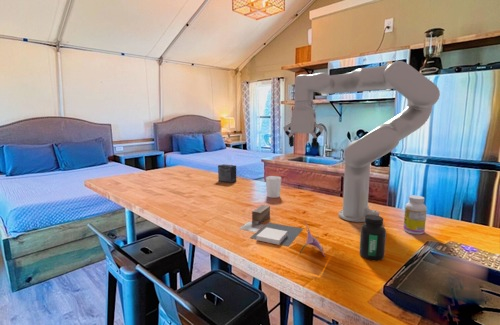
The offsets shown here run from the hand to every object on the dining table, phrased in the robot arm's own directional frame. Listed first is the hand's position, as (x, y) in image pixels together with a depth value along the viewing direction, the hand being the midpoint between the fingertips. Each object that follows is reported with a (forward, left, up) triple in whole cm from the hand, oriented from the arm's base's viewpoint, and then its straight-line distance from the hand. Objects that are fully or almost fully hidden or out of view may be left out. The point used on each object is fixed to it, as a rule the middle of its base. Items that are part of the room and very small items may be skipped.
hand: (302, 146), depth 120 cm
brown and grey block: (+11, +22, -28) cm, 38 cm away
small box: (+60, -35, -29) cm, 75 cm away
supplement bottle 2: (-43, +4, -28) cm, 52 cm away
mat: (0, +28, -28) cm, 40 cm away
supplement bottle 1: (-31, +30, -28) cm, 52 cm away
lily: (-15, +37, -29) cm, 49 cm away
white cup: (+20, -16, -28) cm, 38 cm away
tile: (0, +29, -27) cm, 39 cm away
